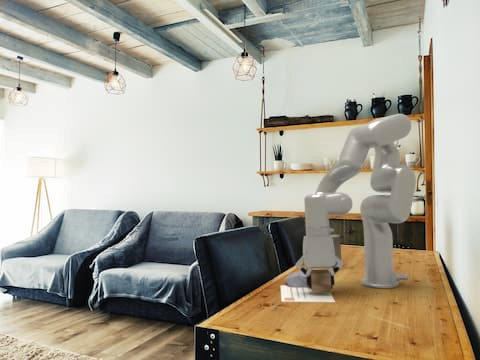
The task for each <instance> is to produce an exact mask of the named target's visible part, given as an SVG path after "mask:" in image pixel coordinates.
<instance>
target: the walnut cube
mask: <svg viewBox="0 0 480 360" xmlns="http://www.w3.org/2000/svg"><path fill="white" fill-rule="evenodd" d="M310 276H311V285H312V289H311V291H312V293H332V289H331V273H330V271H329V269H328V268H327V269H326V268H322V269H312V270H311V272H310Z"/></svg>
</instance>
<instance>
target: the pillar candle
mask: <svg viewBox="0 0 480 360" xmlns="http://www.w3.org/2000/svg"><path fill="white" fill-rule="evenodd" d="M330 235H331V236H332V239H333V244H334V250H335V256H337V257H338V258H339V259H340V260H341V261H342V247H341V246H342V245H341V234H336V233H330ZM337 264H338V263H337V262H336V264H335V266H337ZM335 266H333V267H332V268H334V267H335Z"/></svg>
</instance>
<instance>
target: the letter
mask: <svg viewBox="0 0 480 360" xmlns="http://www.w3.org/2000/svg"><path fill="white" fill-rule="evenodd" d="M280 298H281V299H280V300H281V301H280V302H281V303H336V300H335V299H334V297H333V295H332V294H331V293H312V291H311V289H310V288H309V287H292V286H288V285H287V284H286V285H285V284H283V285H280Z"/></svg>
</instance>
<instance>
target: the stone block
mask: <svg viewBox="0 0 480 360" xmlns="http://www.w3.org/2000/svg"><path fill="white" fill-rule="evenodd" d="M285 282H286V286H292V287H309V286H307V279H306V275H305V274H304V273H303V272H302V271H301V270H298V271H296V272H295V271H293V272H289V273H288V274H287V275H286V278H285Z"/></svg>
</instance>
